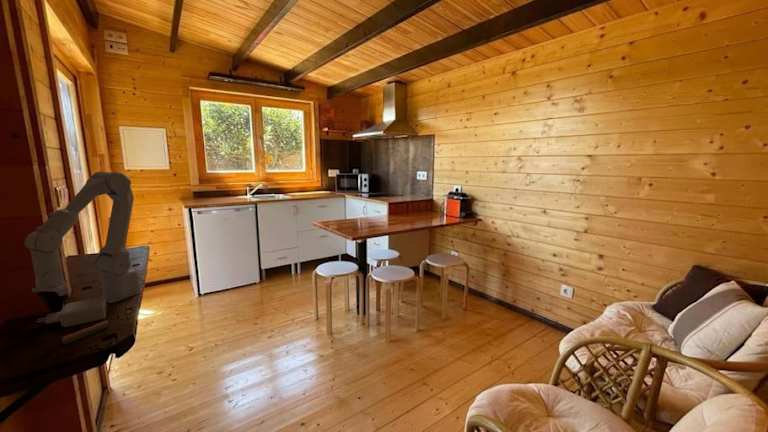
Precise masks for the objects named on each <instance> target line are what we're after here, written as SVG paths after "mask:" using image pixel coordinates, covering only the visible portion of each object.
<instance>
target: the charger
mask: <svg viewBox="0 0 768 432" xmlns="http://www.w3.org/2000/svg"><path fill="white" fill-rule="evenodd" d="M103 296H104V295H103ZM107 309H108V307H107V302H106V299H105V296H104V297H102V296H98V297H94V298H89V299H84V300H79V301H74V302H69V303H66V304H65V305H64V304H63V308H62V310H61V311H60V312H55V313H50V312H49V313H47V315H46V316H45V317H44V316H43V317H41V318H40V317H39V318H37V320H36V323H41V322H44V323H45V325H50V324H54V323H60V326H61V327H63V328H68V327H73V326H79V325H83V324H87V323H92V322H96V321H97V322H98V321H100V320H105V319H106V314H107V311H108V310H107Z"/></svg>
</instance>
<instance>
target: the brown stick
mask: <svg viewBox="0 0 768 432" xmlns="http://www.w3.org/2000/svg"><path fill="white" fill-rule="evenodd" d="M108 328H110V324H109V321H108V320H104V321H101V322H99V323H96V324H94V325H91V326H89V327H86V328H84V329H81V330H78V331H75V332H73V333H70V334H68V335H65V336H63V337H61V341H62V342H61V343H62V344H63V345H67V344H71V343H72V342H76V341H78V340H80V339H83V338H85V337H88V336H91V335H93V334H95V333H98V332H100V331H103V330H105V329H108Z"/></svg>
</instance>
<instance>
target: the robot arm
mask: <svg viewBox="0 0 768 432" xmlns="http://www.w3.org/2000/svg"><path fill="white" fill-rule="evenodd" d="M131 183H132V181H131V180H130V178H128V177H127V176H126V175H125V174H124V173H122V172H119V171H117V172H107V171H96V172H94V173H93V174H92V175H91V177H89V178H87V180H86V182H85V184H84V185H83V187H82V188H81V189H80V190H79V191H78V193H77V194H76V195H75V196H74V197H73V198H72V200H71V201H70V202H69V203H68V204H67V205H66V206H65V208H63V209H62V208H61V209H57V210H55V211H51V212H50V213H49V214H48V216H49V217H48V219H46V220H45V222H44V223H43V224H41V226H39V225H38V227H36V231H34V232H30V233H29V234H28V235H27V236H26V238H25V241H24V242H23V245H24V247H26V248H27V249H28V250H30V255H31V256H30V257H31V262H32V267H33V272H34V277H35V287H32V288H31V291H32V292H33V293H36V295H37V296H38V297H39V299H41V301H43V303H44V304H45V306H46V308H47V310H48V312H49V314H50V313H55V312H60V311H61V310H62V308H63V306H64V301H65V298H66V296H67V295H69V293H70V292H69V287H67V283H66V281H65V276H64V272H63V267H62V261H61V254H60V251H59V249H60V247H61V246H62V245H63V238H64V237H65V235H67V233H68V232H70V230H71V229H72V228H73V227H74V226H75V225H76V224H77V222H78V221H79V217H78V216H79V215H78V214H80V213H81V212H82V211H83V210H84V209H85V208H86V207H87V206H88V205H89V204H90V203H91V202H92V201H93V200H94V199H95V198H96V197H99V196H102V195H107V196H108V197H109V198H110V199H111V200H112V206H111V213H110V217H109V222H108V227H107V233H106V239H105V244H104V246H103V247H101V248H100V250H99V252H98V255H97V257H96V258H95V259H94V261H93V262H94V263H93V265H94V268H95V269H96V270H98V271H99V274H100V283H101V289H102V294H103V295H102V296H101V297H104V296H105V299H106V303H109V304H113V303H116V302H119V301H121V300H124V299H127V298H129V297H133V296H136V295H139V294H141V291H140V286H139V280H138V279H139V278H138V275H137V272H136V271H135V270H134V269H133V268H131V264H132V263H131V259H130V251H129V250H128V248H127V247H126V244H127V239H128V233H129V227H130V222H131V216H132V210H133V206H134V205H133V204H134V200H135V199H134V198H135V197H134V193H133V191H132V187H131ZM37 292H38V293H37Z"/></svg>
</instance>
